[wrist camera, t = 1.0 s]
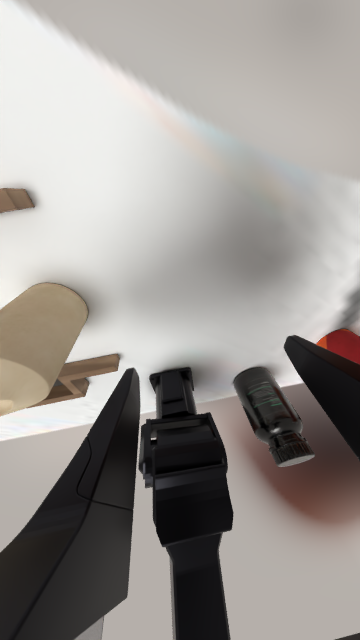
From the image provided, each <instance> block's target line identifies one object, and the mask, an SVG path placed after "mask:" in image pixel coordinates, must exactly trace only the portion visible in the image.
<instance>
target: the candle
mask: <svg viewBox="0 0 360 640" xmlns="http://www.w3.org/2000/svg"><path fill="white" fill-rule="evenodd" d="M87 316H88V310H87V306H86V304H85V302H84V301H83V299H82V298H81V297H80V296H79V295H78V294H76V293H75V292H74V291H72V290H70V289H69V288H66V287H64V286H61V285H58V284H53V283H41V284H37V285H34V286H32V287H30V288H29V289H27V290H26V291H24V292H23V293H22V294H20V295H19V296H18V297H16V298H15V299H14V300H12V301H11V302H10V303H9V304H7V305H6V306H5V307H3V308H2V309H1V310H0V416H3V415H6V414H9V413H12V412H15V411H18V410H22V409H25V408H27V407H30V406H32V405H34V404H36V403H38V402H40V401H42V400H44V399H45V398H46V397H47V396H48V395H49V393H50V391H51V389H52V387H53V385H54V383H55V381H56V379H57V377H58V375H59V373H60V371H61V369H62V367H63V365H64V363H65V361H66V360H67V358H68V356H69V354H70V352H71V350H72V348H73V346H74V344H75V342H76V340H77V338H78V336H79V334H80V332H81V330H82V328H83V326H84V324H85V322H86V320H87Z"/></svg>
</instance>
